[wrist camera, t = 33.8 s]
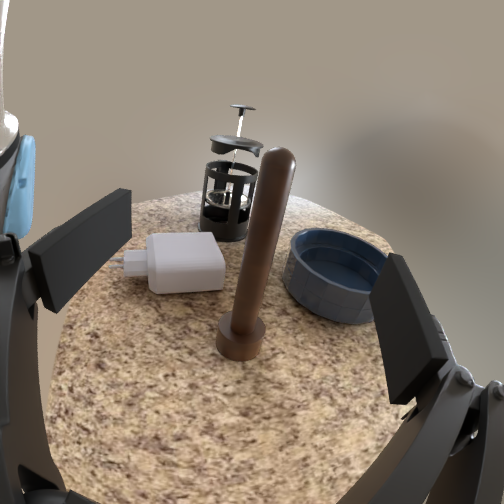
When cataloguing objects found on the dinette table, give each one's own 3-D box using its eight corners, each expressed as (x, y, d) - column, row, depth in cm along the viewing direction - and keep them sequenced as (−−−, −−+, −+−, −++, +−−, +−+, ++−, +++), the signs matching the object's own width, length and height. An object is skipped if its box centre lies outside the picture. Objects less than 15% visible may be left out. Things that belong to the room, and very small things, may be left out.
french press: (256, 243, 51) (283, 113, 40) (204, 245, 48) (224, 103, 36) (235, 214, 60) (255, 106, 49) (192, 215, 57) (206, 99, 45)
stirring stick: (207, 348, 30) (237, 142, 19) (228, 322, 34) (264, 138, 23) (248, 368, 28) (306, 160, 17) (266, 339, 32) (321, 153, 21)
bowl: (263, 297, 39) (273, 261, 36) (298, 247, 53) (307, 218, 50) (380, 344, 34) (401, 311, 31) (384, 280, 48) (397, 253, 45)
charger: (112, 259, 40) (207, 255, 45) (109, 300, 32) (222, 293, 38) (110, 231, 37) (210, 228, 43) (104, 269, 30) (227, 264, 36)
